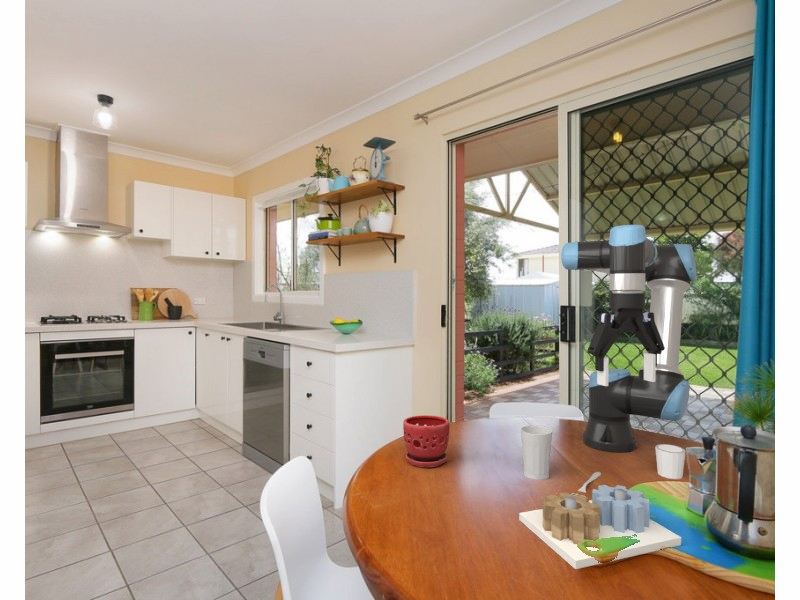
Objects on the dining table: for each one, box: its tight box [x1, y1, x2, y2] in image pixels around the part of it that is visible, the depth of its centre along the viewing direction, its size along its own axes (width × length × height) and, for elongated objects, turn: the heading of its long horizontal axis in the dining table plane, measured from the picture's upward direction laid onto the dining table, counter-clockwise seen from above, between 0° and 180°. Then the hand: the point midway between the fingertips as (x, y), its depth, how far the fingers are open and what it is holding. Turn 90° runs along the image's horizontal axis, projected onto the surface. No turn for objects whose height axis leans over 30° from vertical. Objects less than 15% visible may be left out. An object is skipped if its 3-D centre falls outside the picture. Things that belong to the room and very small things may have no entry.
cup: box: [520, 424, 553, 481], centre depth 121 cm, size 8×8×12 cm
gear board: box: [518, 489, 682, 570], centre depth 93 cm, size 24×18×8 cm
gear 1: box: [542, 492, 600, 544], centre depth 91 cm, size 10×10×5 cm
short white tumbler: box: [655, 443, 686, 480], centre depth 120 cm, size 7×7×7 cm
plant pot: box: [402, 414, 450, 469], centre depth 131 cm, size 13×13×12 cm
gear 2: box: [591, 484, 650, 533], centre depth 94 cm, size 10×10×5 cm
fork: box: [569, 471, 602, 497], centre depth 115 cm, size 3×24×2 cm, turn 142°
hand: (626, 383), depth 108 cm, fingers open, 13 cm apart
